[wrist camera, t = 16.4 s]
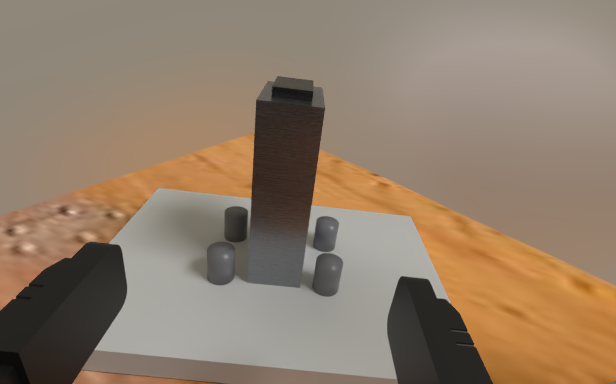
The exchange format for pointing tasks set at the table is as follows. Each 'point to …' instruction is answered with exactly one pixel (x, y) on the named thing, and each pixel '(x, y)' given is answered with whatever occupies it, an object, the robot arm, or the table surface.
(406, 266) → the tray
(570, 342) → the table surface
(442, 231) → the table surface
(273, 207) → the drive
